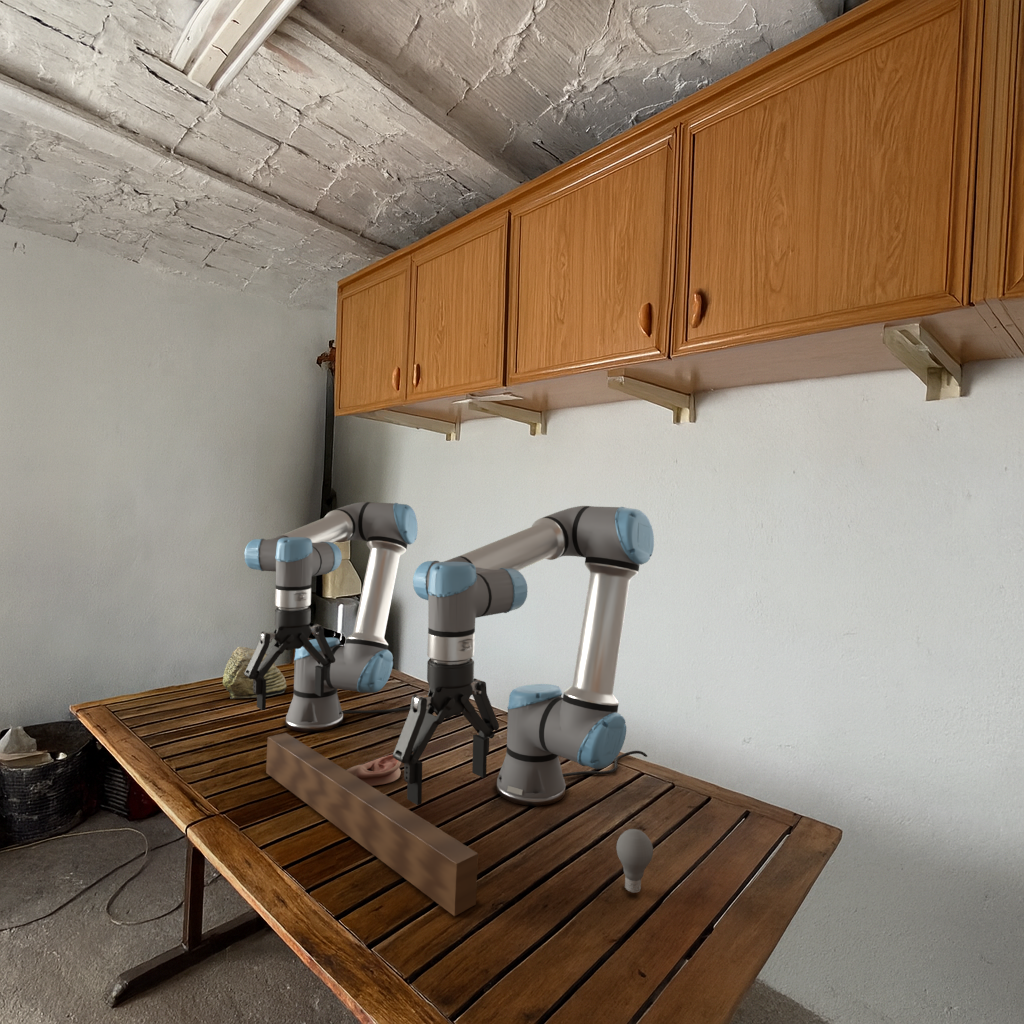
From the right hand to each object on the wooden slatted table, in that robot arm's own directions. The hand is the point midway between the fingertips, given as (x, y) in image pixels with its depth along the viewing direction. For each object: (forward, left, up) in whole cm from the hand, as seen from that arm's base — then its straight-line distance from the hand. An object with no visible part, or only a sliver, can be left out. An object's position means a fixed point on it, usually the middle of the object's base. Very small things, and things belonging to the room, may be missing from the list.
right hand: (448, 787), depth 103 cm
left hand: (-6, -55, 0) cm, 55 cm away
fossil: (-31, -114, -17) cm, 119 cm away
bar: (-2, -27, -17) cm, 32 cm away
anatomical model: (-19, -42, -17) cm, 49 cm away
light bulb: (-21, +23, -17) cm, 36 cm away
